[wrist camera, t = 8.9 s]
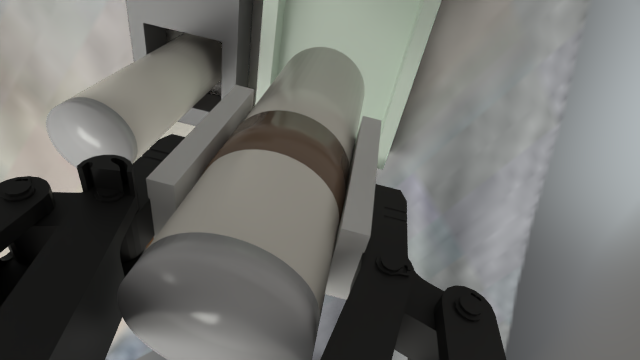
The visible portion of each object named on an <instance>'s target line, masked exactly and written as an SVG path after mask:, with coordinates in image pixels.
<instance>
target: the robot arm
mask: <svg viewBox="0 0 640 360" xmlns="http://www.w3.org/2000/svg"><path fill="white" fill-rule="evenodd" d="M253 100H254V89H251V88H247V87H243V86H239V85H235V86H234V87H233V88H232V90H231V91H230V92H229V93H228V94H227V95H226V96H225V97H224V98H223V99H222V100H221V101H220V102H219V103H218V104H217V105H216V106H215V107H214V108H213V109H212V110H211V111H210V112H209V113H208V114H207V116H206V117H205V118H204V119H203V120H202V121H201V122H200V123H199V124H198V125H197V126H196V127H195V128H194V129H193V130H192V131H191V132H190V133H189V134H188V135H187V136H186V137H182V136H178V135H174V134H171V135H169V136H166V137H164V138H162V139H159V140H158V141H157V142H156V143H155V144H154V145H152V146H151V147H150V149H149V150H147V151H146V152H145V153H144V154H143V155H142V157H140V158H139V159H137V160H136V161H135V162H134V163H133V164H132V163H131V161H130V160H128V159H126V158H125V157H122V156H118V155H99V156H94V157H91V158H88V159H86V160H84V161H82V162H81V163H80V164H79V165H77V170H78V173H79V177H80V181H81V185H82V188H83V192H82V193H61V192H52V190H51V187H50V185H49V184H48V182H47V181H46V180H43V179H41V178H39V177H31V176H27V177H17V178H13V179H9V180H6V181H3V182H1V183H0V252H2V251H3V250H4V249H5V248H7V247H8V248H9V250H10V252H9V253H8V254H7V255H5V256H3V257H2V258H0V360H105V358H106V355H107V353H108V351H109V348H110V346H111V343H112V341H113V338H114V336H115V334H116V331H117V329H118V326H119V324H120V321H121V319H122V315H121V313H120V310H119V307H118V301H117V293H118V289H119V286H120V284H121V282H122V281H123V279H124V278H125V277H126V275H127V274H128V273H129V271H130V270H131V269H132V267H133V266H134V265H135V263H136V262H137V261H138V259H139V258H140V257H141V256H142V254H143V253H144V252H145V250H146V246H147V245H148V243H149V242H150V241H151V240H152V238H153V237H154V238H155V237H156V236H157V234H158V233H159V232H160V230H161V229H162V228H163V226H164V225H165V224H166V223H167V221H168V220H169V219H170V217H171V216H172V215H173V213H174V212H175V211H176V209H177V208H178V207H179V205H180V204H181V203H182V201H183V200H184V199H185V197H186V196H187V195H188V193H189V192H190V191H191V190H192V188H193V187H194V186H195V184H196V183H197V182H198V180H199V179H200V177H201V175H202V173H203V171H204V170H205V168H206V167H207V165H208V164H209V163H210V162H211V160H212V159H213V158H214V156H215V155H216V154H217V152H218V151H219V150H220V149H221V147H222V146H223V145H224V143H225V142H226V141H227V139H228V138H229V137H230V135H231V134H232V133H233V132H234V130H235V129H236V128H237V127H238V126H239V125H240V124H241V123H242V122H243V121H244V120H245V118H246V117H247V116H248V114H249V113H250V112H251V110H252V109H253ZM381 121H382V120H378V119H374V118H370V117H366V116H363V117H362V121H361V124H360V128H359V131H358V135H357V139H356V142H355V146H354V151H353V156H352V161H351V166H350V175H349V180H348V185H347V190H346V195H345V200H344V205H343V210H342V215H341V220H340V223H339V227H338V231H337V236H336V241H335V246H334V251H333V256H332V261H331V266H330V271H329V276H328V281H327V286H326V291H325V294H327V295H330V296H334V297H338V298H342V299H346V303H345V305H344V307H343V309H342V312H341V314H340V316H339V318H338V321H337V323H336V325H335V328H334V330H333V332H332V334H331V337H330V339H329V341H328V343H327V346H326V348H325V350H324V353H323V355H322V357H321V359H320V360H392V356H393V352H394V349H395V350H396V351H398V352H400V353H401V354H403V355H405V356H406V357H408V360H506V357H505V352H504V348H503V344H502V340H501V336H500V332H499V328H498V324H497V320H496V316H495V313H494V311H493V309H492V307H491V305H490V304H489V303H488V302H487V300H486V299H485V298H484V297H483V296H482V295H480V294H479V293H477V292H476V291H475V290H472V289H470V288H467V287H465V286H452V287H449V288H447V289H446V290H445V291H443V290H441V289H439V288H437V287H435V286H433V285H432V284H430V283H428V282H427V281H425V280H424V279H422V278H421V277H420V276H419V275H418V274H416V272H415V271H414V268H413V266H412V263H411V261H410V260H409V259H408V246H407V214H406V213H407V201H406V199H405V197H404V196H403V194H402V192H401V190H397V189H393V188H389V187H385V186H381V185H377V184H376V173H377V163H378V152H379V142H380V131H381Z"/></svg>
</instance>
